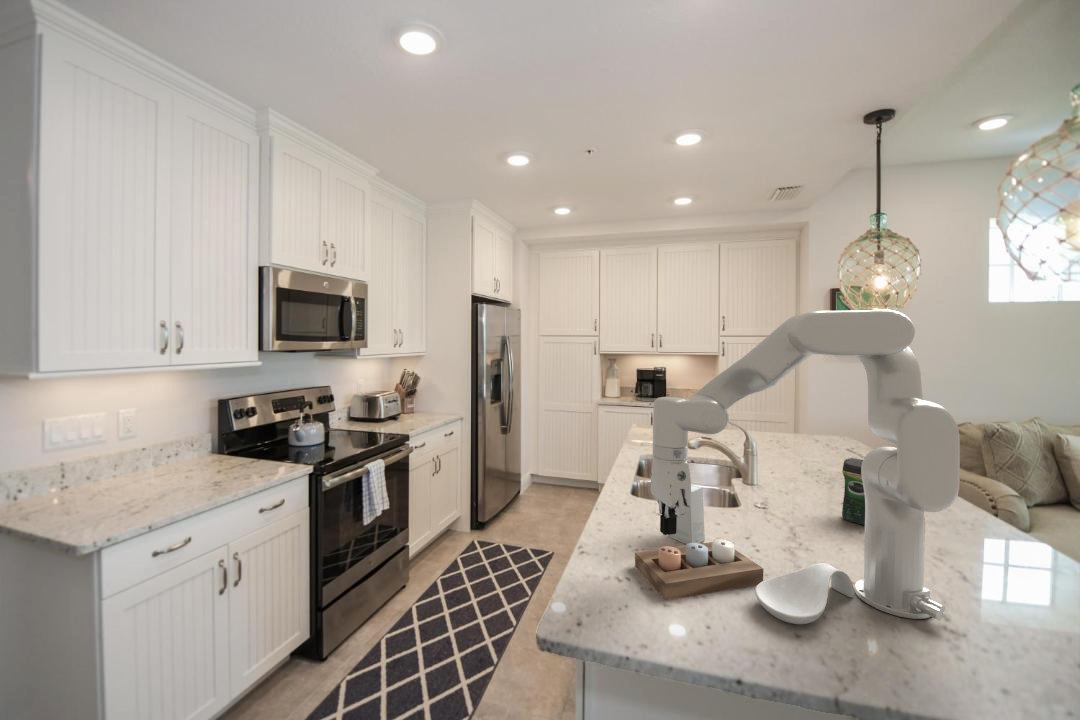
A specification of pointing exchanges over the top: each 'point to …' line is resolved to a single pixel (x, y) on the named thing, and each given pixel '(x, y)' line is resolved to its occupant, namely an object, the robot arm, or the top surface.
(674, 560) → the three-pip button
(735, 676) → the top surface
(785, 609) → the spoon rest
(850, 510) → the coffee jar
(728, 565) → the wooden three-slot caddy
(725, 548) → the one-pip button
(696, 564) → the two-pip button
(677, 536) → the skincare box
